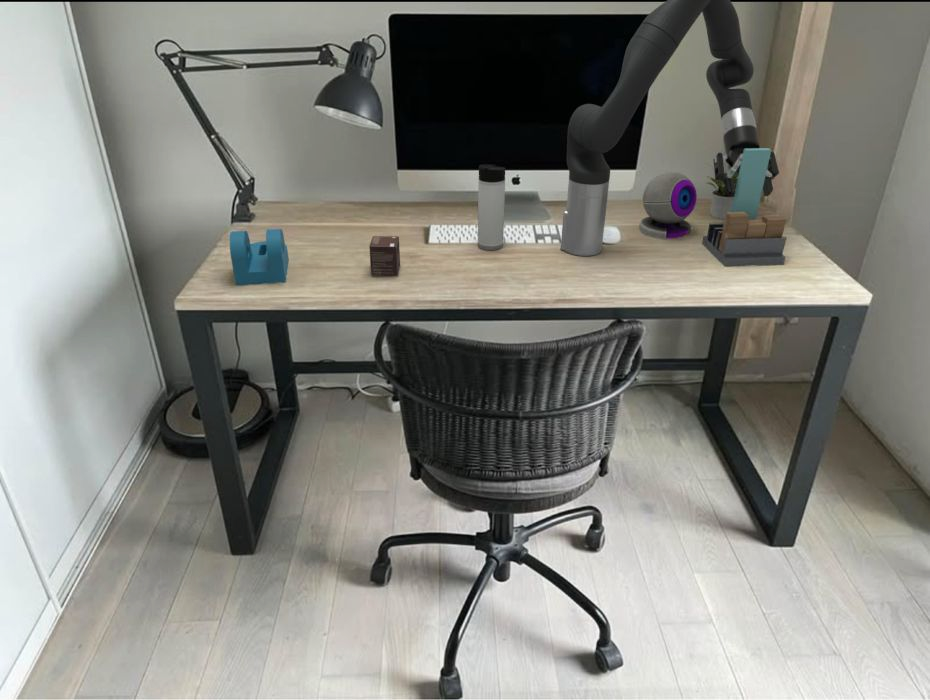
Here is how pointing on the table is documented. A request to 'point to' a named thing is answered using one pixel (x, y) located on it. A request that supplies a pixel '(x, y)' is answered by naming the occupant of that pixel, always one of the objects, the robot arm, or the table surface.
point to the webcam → (668, 205)
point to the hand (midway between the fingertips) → (750, 195)
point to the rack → (744, 248)
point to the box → (384, 256)
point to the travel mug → (491, 206)
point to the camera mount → (259, 258)
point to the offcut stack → (751, 227)
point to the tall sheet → (751, 181)
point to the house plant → (721, 198)
